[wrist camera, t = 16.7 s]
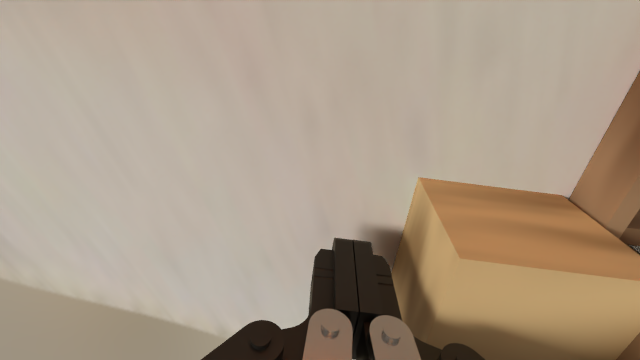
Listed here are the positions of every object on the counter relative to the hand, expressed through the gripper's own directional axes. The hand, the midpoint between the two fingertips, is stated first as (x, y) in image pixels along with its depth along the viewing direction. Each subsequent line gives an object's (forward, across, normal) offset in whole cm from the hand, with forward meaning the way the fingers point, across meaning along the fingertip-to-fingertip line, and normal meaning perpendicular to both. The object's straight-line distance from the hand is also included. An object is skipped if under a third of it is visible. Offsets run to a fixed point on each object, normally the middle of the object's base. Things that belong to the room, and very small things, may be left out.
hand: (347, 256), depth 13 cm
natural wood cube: (+2, -6, +1) cm, 6 cm away
